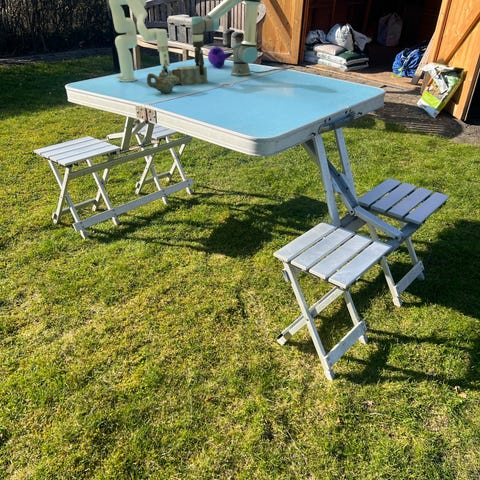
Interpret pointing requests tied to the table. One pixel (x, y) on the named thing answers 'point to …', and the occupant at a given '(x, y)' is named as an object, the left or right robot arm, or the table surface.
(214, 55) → the toy
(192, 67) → the cabinet
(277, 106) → the table surface
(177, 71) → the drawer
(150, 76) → the teapot
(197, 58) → the right robot arm
